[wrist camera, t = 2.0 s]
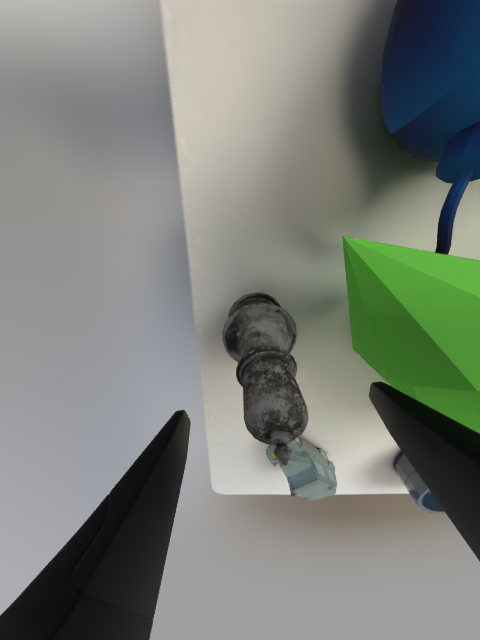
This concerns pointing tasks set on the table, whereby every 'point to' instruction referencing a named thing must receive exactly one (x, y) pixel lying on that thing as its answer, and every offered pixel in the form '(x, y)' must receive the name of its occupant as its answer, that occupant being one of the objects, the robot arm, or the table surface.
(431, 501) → the blue fountain
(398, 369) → the decorative tree
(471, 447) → the robot arm
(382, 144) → the table surface
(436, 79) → the blue rounded body
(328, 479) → the toy car
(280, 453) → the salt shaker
